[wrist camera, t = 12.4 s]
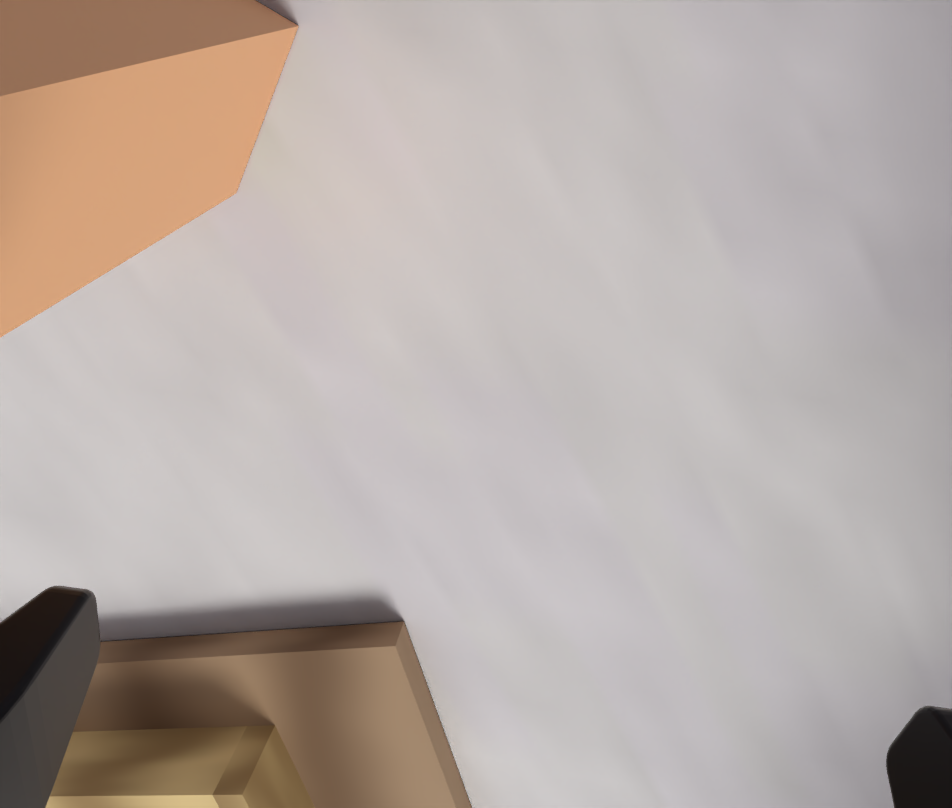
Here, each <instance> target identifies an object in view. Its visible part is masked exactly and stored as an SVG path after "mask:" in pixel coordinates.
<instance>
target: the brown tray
mask: <svg viewBox="0 0 952 808" xmlns="http://www.w3.org/2000/svg"><path fill="white" fill-rule="evenodd" d="M45 808H472V807H471V804H470V801H469V799H468V796H467V793H466V790H465V788H464V785H463V782H462V779H461V777H460V774H459V771H458V768H457V766H456V763H455V760H454V757H453V755H452V752H451V749H450V746H449V744H448V741H447V738H446V735H445V733H444V730H443V727H442V724H441V722H440V719H439V716H438V713H437V711H436V708H435V705H434V703H433V700H432V697H431V694H430V692H429V689H428V686H427V683H426V681H425V678H424V675H423V672H422V670H421V667H420V664H419V661H418V659H417V656H416V653H415V650H414V648H413V645H412V642H411V639H410V637H409V634H408V631H407V628H406V626H405V623H404V621H403V622H388V623H374V624H359V625H344V626H329V627H314V628H299V629H284V630H269V631H254V632H239V633H225V634H210V635H195V636H180V637H165V638H150V639H135V640H120V641H105V642H100V653H99V658H98V662H97V665H96V668H95V671H94V674H93V677H92V680H91V682H90V685H89V688H88V691H87V694H86V696H85V699H84V702H83V705H82V708H81V710H80V713H79V716H78V719H77V722H76V725H75V727H74V730H73V733H72V736H71V739H70V741H69V744H68V747H67V750H66V753H65V755H64V758H63V761H62V764H61V767H60V769H59V772H58V775H57V778H56V781H55V784H54V786H53V789H52V792H51V794H50V797H49V800H48V802H47V805H46V807H45Z"/></svg>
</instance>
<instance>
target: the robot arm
mask: <svg viewBox="0 0 952 808" xmlns="http://www.w3.org/2000/svg"><path fill="white" fill-rule="evenodd" d="M99 653H100V633H99V623H98V613H97V603H96V598H95V595H94V594H93V592H92V591H90V590H87V589H80V588H72V587H65V586H52V587H50V588H47V589H46V590H44V591H43V592H41V593H40V594H38V595H37V596H36V597H34V598H33V599H32V600H30V601H29V602H28V603H26V604H25V605H24V606H22V607H21V608H19V609H18V610H17V611H15V612H14V613H13V614H11V615H10V616H9V617H7V618H6V619H5V620H3V621H2V622H1V623H0V808H45V807H46V805H47V802H48V800H49V797H50V794H51V792H52V789H53V786H54V784H55V781H56V778H57V775H58V772H59V769H60V767H61V764H62V761H63V758H64V755H65V753H66V750H67V747H68V744H69V741H70V739H71V736H72V733H73V730H74V727H75V725H76V722H77V719H78V716H79V713H80V710H81V708H82V705H83V702H84V699H85V696H86V694H87V691H88V688H89V685H90V682H91V680H92V677H93V674H94V671H95V668H96V665H97V662H98V658H99ZM886 767H887V774H888V779H889V784H890V788H891V793H892V798H893V803H894V808H952V709H948V708H941V707H933V706H925V707H923V708H920V709H919V710H918V711H917V712H916V713H915V714H914V715H913V717H912V718H911V719H910V721H909V722H908V723H907V724H906V726H905V727H904V728H903V730H902V731H901V732H900V734H899V735H898V736H897V737H896V739H895V740H894V741H893V743H892V744H891V746H890V747H889V750H888V753H887V759H886Z"/></svg>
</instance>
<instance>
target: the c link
mask: <svg viewBox="0 0 952 808" xmlns="http://www.w3.org/2000/svg"><path fill="white" fill-rule="evenodd" d="M298 27H299V26H298V25H296V24H294V23H293V22H291V21H289V20H288V19H286V18H284V17H283V16H281V15H279V14H278V13H276V12H274V11H273V10H271V9H269V8H268V7H266V6H264V5H263V4H261V3H259V2H258V1H256V0H0V337H2V336H4V335H5V334H7V333H8V332H10V331H12V330H13V329H15V328H17V327H18V326H20V325H22V324H23V323H25V322H26V321H28V320H30V319H31V318H33V317H35V316H36V315H38V314H40V313H41V312H43V311H44V310H46V309H48V308H49V307H51V306H53V305H54V304H56V303H57V302H59V301H61V300H62V299H64V298H66V297H67V296H69V295H71V294H72V293H74V292H75V291H77V290H79V289H80V288H82V287H84V286H85V285H87V284H89V283H90V282H92V281H93V280H95V279H97V278H98V277H100V276H102V275H103V274H105V273H107V272H108V271H110V270H111V269H113V268H115V267H116V266H118V265H120V264H121V263H123V262H125V261H126V260H128V259H129V258H131V257H133V256H134V255H136V254H138V253H139V252H141V251H143V250H144V249H146V248H147V247H149V246H151V245H152V244H154V243H156V242H157V241H159V240H161V239H162V238H164V237H165V236H167V235H169V234H170V233H172V232H174V231H175V230H177V229H179V228H180V227H182V226H183V225H185V224H187V223H188V222H190V221H192V220H193V219H195V218H197V217H198V216H200V215H201V214H203V213H205V212H206V211H208V210H210V209H211V208H213V207H215V206H216V205H218V204H219V203H221V202H223V201H224V200H226V199H228V198H229V197H231V196H232V195H234V194H236V192H237V190H238V187H239V184H240V182H241V179H242V176H243V174H244V171H245V168H246V166H247V163H248V160H249V157H250V155H251V152H252V149H253V147H254V144H255V141H256V139H257V136H258V133H259V131H260V128H261V125H262V123H263V120H264V117H265V115H266V112H267V109H268V107H269V104H270V101H271V99H272V96H273V93H274V91H275V88H276V85H277V83H278V80H279V77H280V75H281V72H282V69H283V67H284V64H285V61H286V59H287V56H288V53H289V51H290V48H291V45H292V43H293V40H294V37H295V35H296V32H297V29H298Z"/></svg>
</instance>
